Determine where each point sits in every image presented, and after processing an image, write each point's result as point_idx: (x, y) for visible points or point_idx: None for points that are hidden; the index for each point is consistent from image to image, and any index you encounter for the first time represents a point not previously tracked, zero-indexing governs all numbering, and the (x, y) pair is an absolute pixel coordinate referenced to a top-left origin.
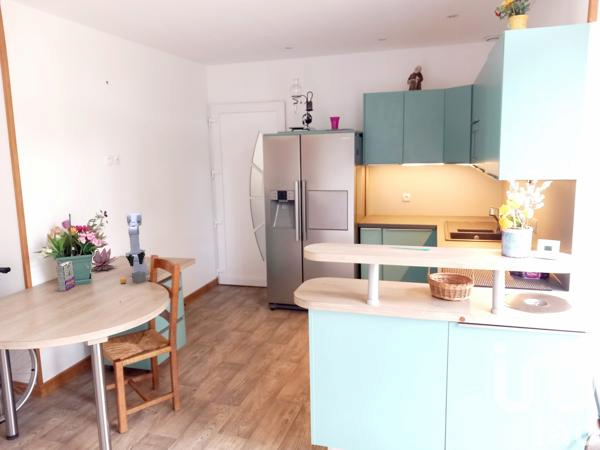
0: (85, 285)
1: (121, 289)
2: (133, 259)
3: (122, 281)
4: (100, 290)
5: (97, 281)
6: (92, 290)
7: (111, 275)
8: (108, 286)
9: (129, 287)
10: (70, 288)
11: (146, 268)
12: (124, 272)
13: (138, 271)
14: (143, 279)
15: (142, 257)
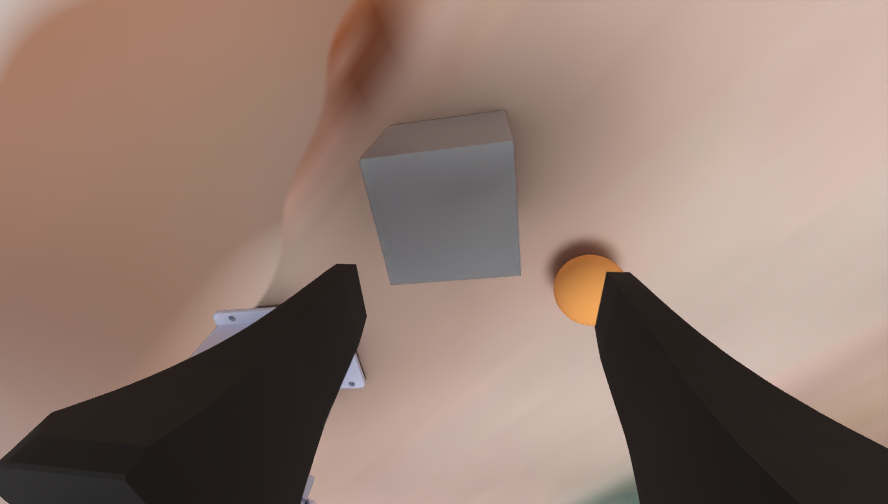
0: None
1: (842, 89)
2: (702, 395)
3: (622, 271)
4: (883, 284)
5: (591, 470)
6: (878, 347)
7: (425, 485)
8: (718, 317)
9: (731, 63)
10: None
11: (192, 356)
12: (324, 466)
13: (398, 270)
14: (431, 124)
15: (254, 363)
